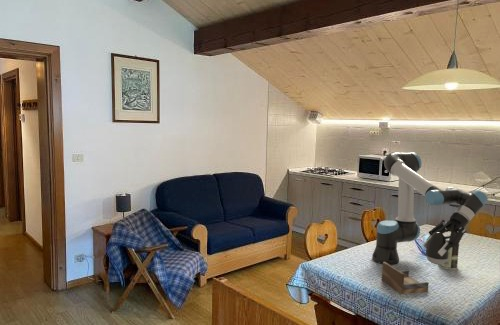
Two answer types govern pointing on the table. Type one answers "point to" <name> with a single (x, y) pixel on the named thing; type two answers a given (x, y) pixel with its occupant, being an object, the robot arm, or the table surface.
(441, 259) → the pump dispenser
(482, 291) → the table surface
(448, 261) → the coffee can
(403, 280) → the stand
